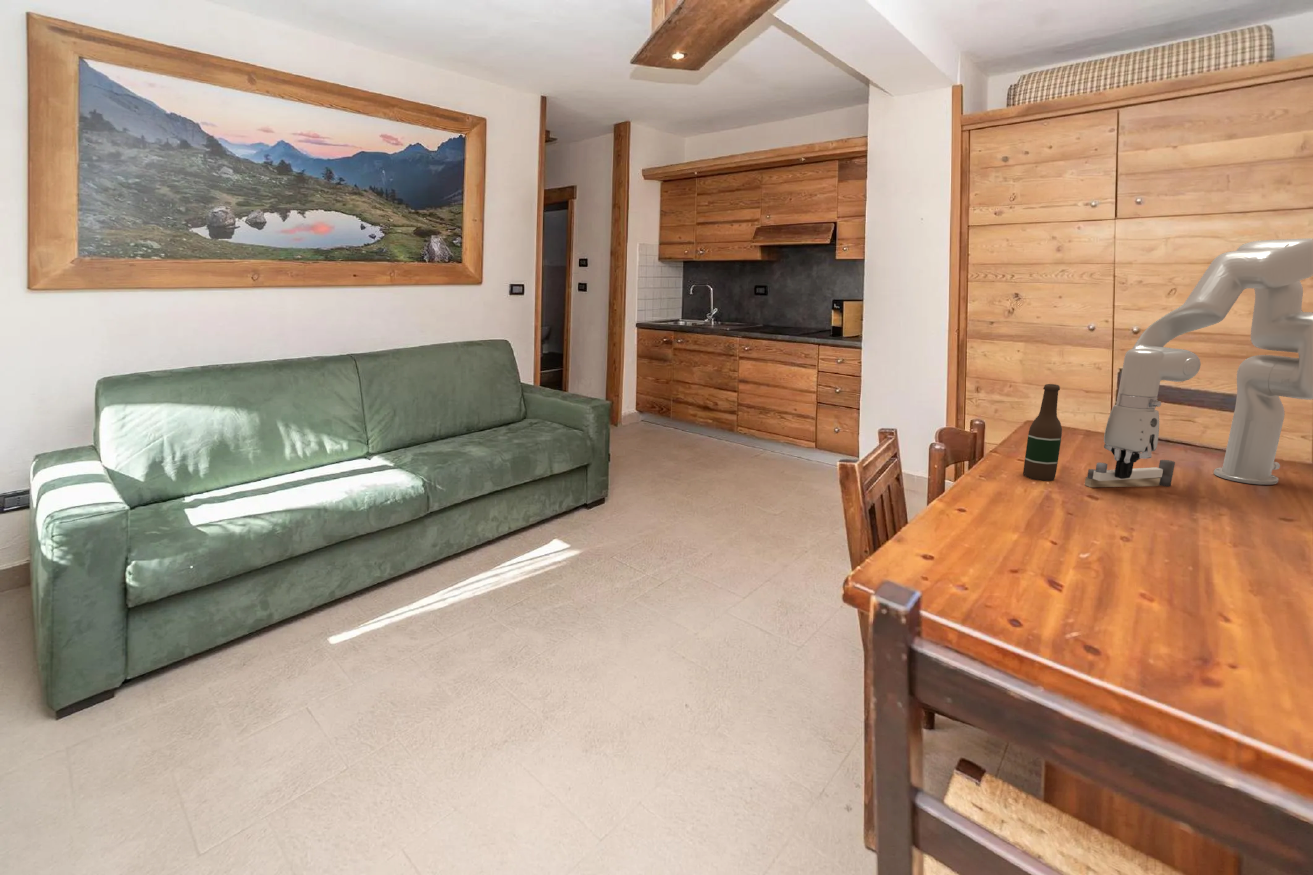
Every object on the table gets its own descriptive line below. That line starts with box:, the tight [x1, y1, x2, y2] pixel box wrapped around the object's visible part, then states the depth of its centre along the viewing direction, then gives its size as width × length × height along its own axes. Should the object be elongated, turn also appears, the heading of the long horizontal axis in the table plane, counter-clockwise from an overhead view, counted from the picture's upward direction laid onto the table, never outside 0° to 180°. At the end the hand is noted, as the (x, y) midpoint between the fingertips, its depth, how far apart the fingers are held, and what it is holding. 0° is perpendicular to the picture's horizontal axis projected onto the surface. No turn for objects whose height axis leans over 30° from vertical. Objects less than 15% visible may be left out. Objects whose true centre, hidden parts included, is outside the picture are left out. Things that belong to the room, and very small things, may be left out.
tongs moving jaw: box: [1093, 462, 1163, 481], centre depth 164 cm, size 18×2×4 cm, turn 101°
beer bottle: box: [1022, 383, 1063, 482], centre depth 170 cm, size 8×8×24 cm
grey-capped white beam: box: [1084, 459, 1176, 488], centre depth 166 cm, size 22×3×6 cm, turn 95°
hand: (1122, 477), depth 161 cm, fingers closed
